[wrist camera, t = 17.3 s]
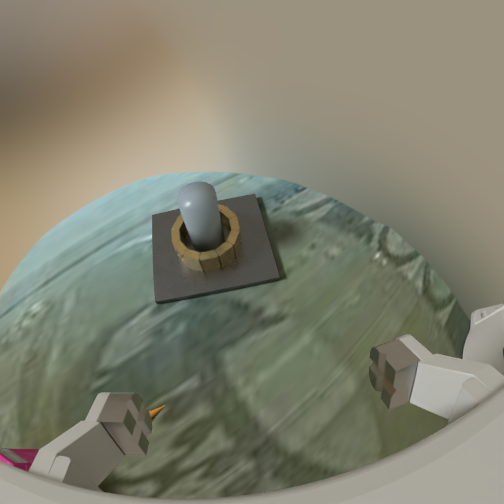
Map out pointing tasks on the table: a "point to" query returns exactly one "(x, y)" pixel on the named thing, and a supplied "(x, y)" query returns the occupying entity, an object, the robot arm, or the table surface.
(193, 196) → the grey capsule peg
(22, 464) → the supplement box
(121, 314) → the table surface
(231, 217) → the brass socket
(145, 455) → the robot arm
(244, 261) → the mounting plate
